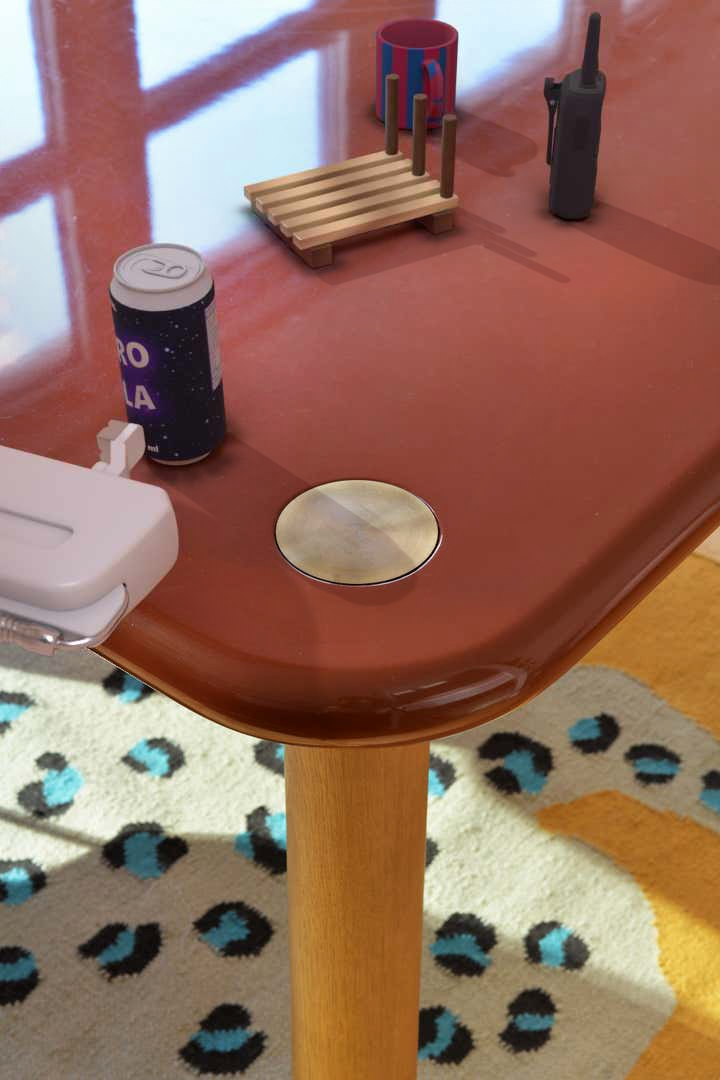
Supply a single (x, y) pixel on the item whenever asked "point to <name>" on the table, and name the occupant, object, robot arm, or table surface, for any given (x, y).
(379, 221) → the drying rack
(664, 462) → the table surface
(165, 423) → the beverage can
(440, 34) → the mug
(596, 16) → the two-way radio
